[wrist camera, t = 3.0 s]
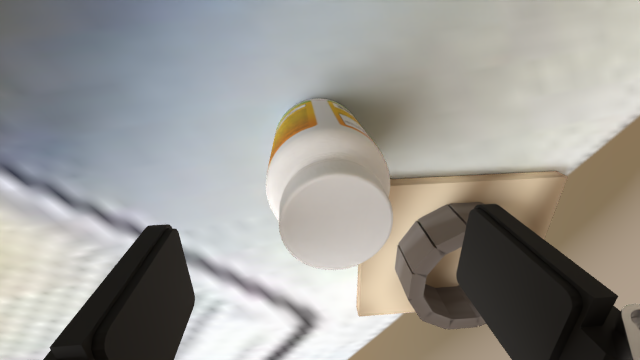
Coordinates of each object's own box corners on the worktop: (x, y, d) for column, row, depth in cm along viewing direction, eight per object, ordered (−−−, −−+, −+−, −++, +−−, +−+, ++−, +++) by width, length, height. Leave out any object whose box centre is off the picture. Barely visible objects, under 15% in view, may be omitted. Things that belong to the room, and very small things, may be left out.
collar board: (556, 171, 21) (610, 197, 17) (512, 294, 26) (547, 335, 23) (362, 180, 20) (376, 211, 17) (356, 306, 25) (366, 350, 22)
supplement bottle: (276, 179, 20) (261, 289, 11) (273, 96, 17) (250, 152, 9) (356, 178, 20) (402, 283, 11) (363, 97, 18) (427, 152, 9)
